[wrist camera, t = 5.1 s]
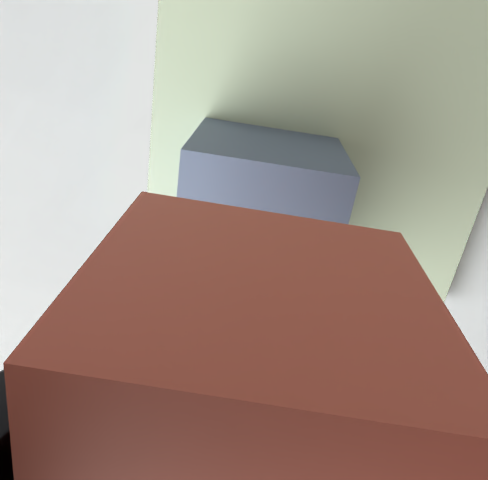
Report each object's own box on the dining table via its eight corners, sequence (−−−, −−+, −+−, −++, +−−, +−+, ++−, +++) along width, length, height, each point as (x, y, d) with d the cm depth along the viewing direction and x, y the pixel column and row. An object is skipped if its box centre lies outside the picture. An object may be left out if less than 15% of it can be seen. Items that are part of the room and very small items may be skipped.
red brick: (400, 232, 9) (531, 445, 4) (340, 424, 11) (386, 702, 6) (142, 191, 9) (3, 363, 4) (130, 391, 11) (28, 647, 6)
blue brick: (338, 138, 17) (360, 177, 13) (311, 256, 19) (321, 326, 15) (205, 117, 17) (180, 149, 13) (192, 238, 19) (167, 302, 15)
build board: (597, -145, 14) (618, -156, 13) (434, 296, 21) (441, 308, 20) (178, -212, 14) (171, -228, 13) (148, 252, 21) (143, 262, 20)
